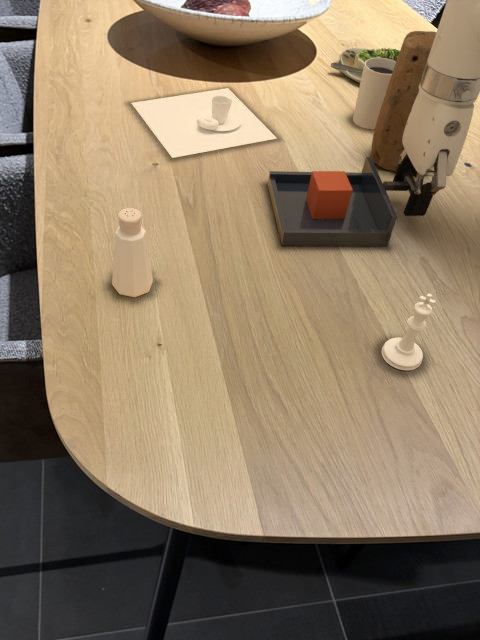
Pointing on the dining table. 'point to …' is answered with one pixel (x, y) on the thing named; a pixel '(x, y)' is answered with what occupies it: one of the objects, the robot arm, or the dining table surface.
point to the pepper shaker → (131, 256)
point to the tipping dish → (355, 230)
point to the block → (400, 98)
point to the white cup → (372, 91)
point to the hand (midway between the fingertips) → (407, 200)
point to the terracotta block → (328, 194)
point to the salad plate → (361, 60)
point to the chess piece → (409, 339)
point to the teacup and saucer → (202, 122)
